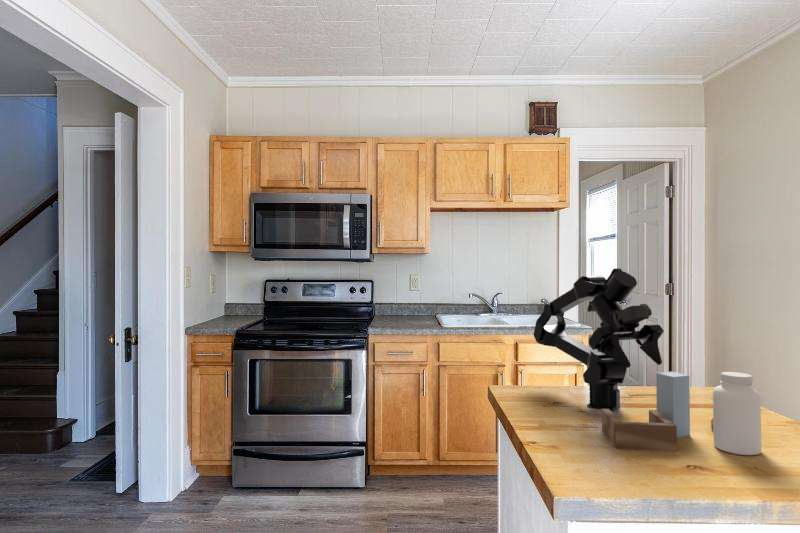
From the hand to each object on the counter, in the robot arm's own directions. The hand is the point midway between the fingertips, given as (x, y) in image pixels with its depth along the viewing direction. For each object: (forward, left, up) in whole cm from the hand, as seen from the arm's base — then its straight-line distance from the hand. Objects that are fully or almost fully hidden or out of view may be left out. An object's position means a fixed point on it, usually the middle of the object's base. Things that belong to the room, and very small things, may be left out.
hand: (645, 365), depth 116 cm
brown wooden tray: (+2, -14, -13) cm, 19 cm away
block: (+7, -4, -13) cm, 16 cm away
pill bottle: (+19, -6, -14) cm, 24 cm away
